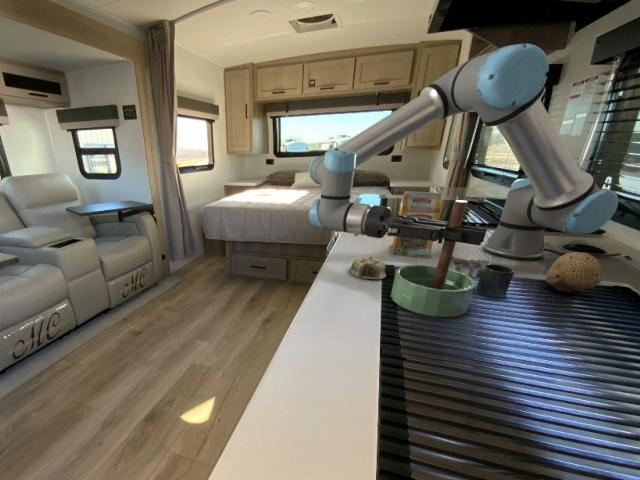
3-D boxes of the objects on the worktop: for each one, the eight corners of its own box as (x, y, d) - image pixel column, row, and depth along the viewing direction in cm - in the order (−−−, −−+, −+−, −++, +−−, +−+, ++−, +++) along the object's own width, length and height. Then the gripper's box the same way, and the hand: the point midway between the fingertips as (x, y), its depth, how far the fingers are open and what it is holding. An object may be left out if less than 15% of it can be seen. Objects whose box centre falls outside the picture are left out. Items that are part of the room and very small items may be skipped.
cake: (344, 269, 97) (346, 251, 95) (378, 270, 97) (381, 252, 95) (354, 279, 88) (357, 260, 86) (392, 280, 88) (396, 260, 86)
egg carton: (487, 275, 91) (492, 261, 89) (470, 280, 88) (475, 265, 86) (450, 263, 99) (453, 250, 97) (433, 267, 96) (437, 254, 94)
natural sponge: (601, 297, 77) (622, 257, 73) (574, 303, 75) (594, 261, 71) (558, 283, 85) (574, 245, 81) (532, 287, 83) (548, 249, 79)
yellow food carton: (392, 254, 108) (404, 193, 100) (392, 245, 117) (403, 189, 108) (429, 257, 104) (444, 195, 96) (425, 248, 113) (440, 190, 105)
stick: (439, 288, 77) (464, 200, 68) (443, 292, 75) (469, 202, 66) (429, 288, 77) (452, 200, 68) (433, 292, 75) (457, 202, 66)
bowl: (449, 290, 82) (456, 266, 79) (480, 321, 68) (491, 293, 65) (383, 287, 84) (388, 263, 81) (401, 317, 70) (407, 289, 67)
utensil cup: (495, 291, 81) (505, 264, 78) (509, 301, 76) (520, 273, 73) (470, 290, 82) (478, 263, 79) (482, 300, 77) (491, 272, 74)
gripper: (379, 229, 88) (484, 246, 73) (353, 242, 78) (470, 264, 63) (384, 200, 84) (495, 212, 70) (358, 209, 74) (482, 225, 60)
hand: (483, 237), depth 67 cm, fingers closed on stick, 2 cm apart
